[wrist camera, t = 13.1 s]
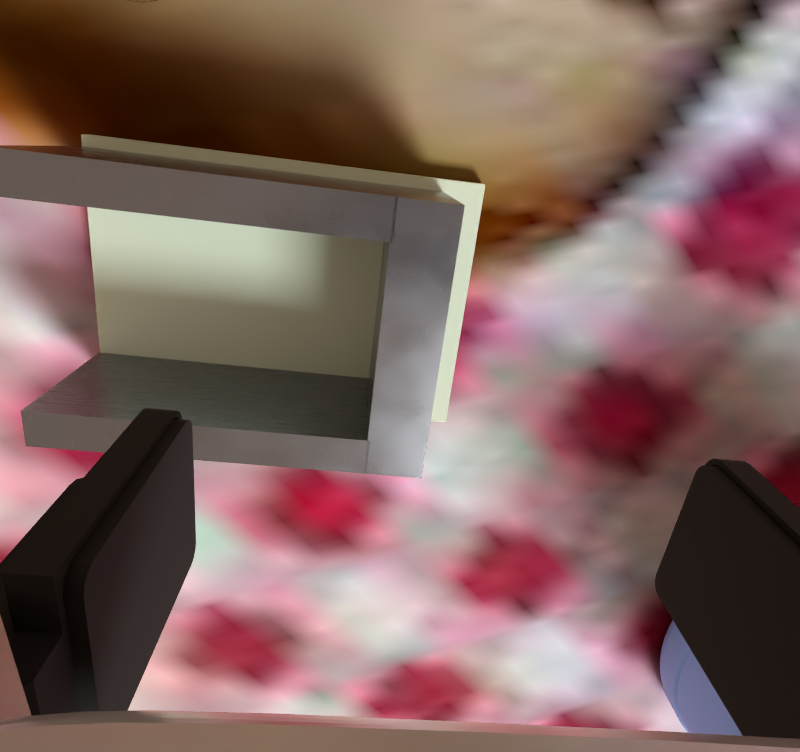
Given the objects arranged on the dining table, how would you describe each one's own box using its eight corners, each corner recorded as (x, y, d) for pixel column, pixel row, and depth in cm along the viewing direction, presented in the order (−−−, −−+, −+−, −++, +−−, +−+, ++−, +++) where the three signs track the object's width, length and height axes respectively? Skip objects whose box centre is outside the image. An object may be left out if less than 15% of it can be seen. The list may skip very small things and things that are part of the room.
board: (481, 183, 24) (485, 184, 23) (443, 415, 28) (445, 422, 27) (90, 134, 22) (80, 133, 22) (110, 385, 26) (103, 392, 26)
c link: (442, 191, 23) (464, 205, 17) (411, 409, 27) (421, 478, 21) (81, 146, 22) (-18, 145, 16) (101, 381, 25) (26, 445, 20)
